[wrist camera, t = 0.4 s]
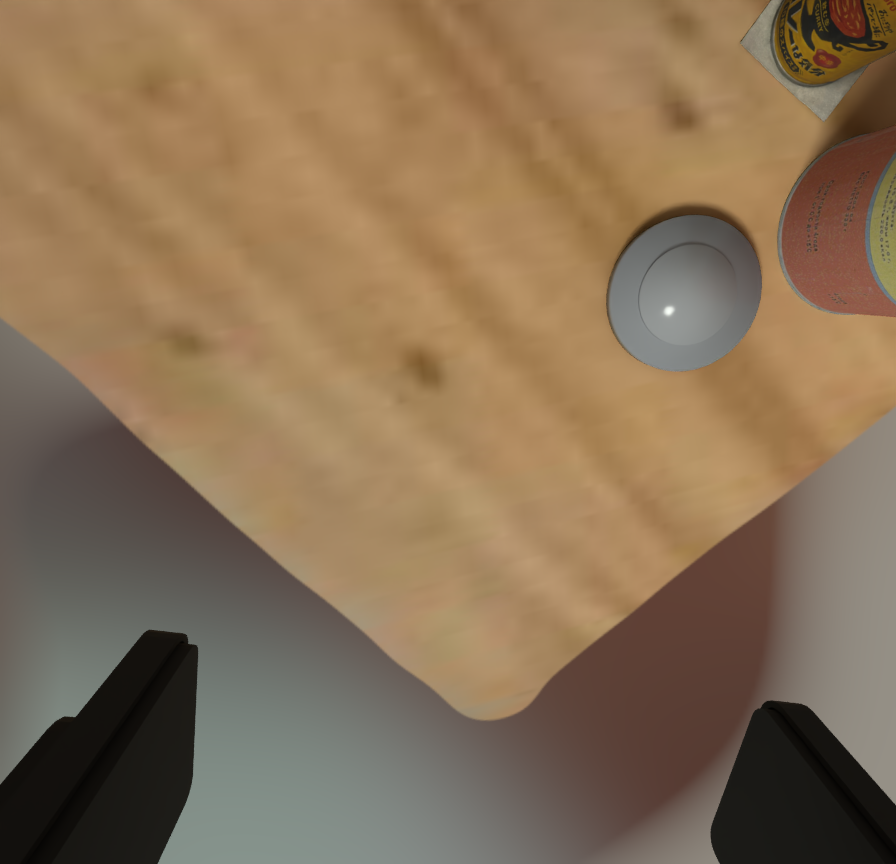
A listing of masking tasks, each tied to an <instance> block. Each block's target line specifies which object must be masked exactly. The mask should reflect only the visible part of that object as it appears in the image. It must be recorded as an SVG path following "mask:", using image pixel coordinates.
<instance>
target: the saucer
mask: <svg viewBox="0 0 896 864" xmlns="http://www.w3.org/2000/svg"><path fill="white" fill-rule="evenodd" d="M761 290H762V276H761V270H760V265H759V262H758V259H757V256H756V254H755V252H754V250H753V248H752V246H751V245H750V243H749V242H748V240H747V239H746V238H745V237H744V236H743V234H742V233H741V232H739V231H738V230H737V229H736V228H735V227H733V226H732V225H730V224H728V223H727V222H725V221H722V220H720V219H717V218H714V217H710V216H704V215H686V216H680V217H675V218H672V219H668V220H665V221H662V222H659V223H657V224H655V225H653V226H651V227H649V228H648V229H646V230H645V231H643V232H642V233H641V234H639V235H638V236H637V237H636V238H635V239H633V241H632V242H631V243H630V244H629V245H628V246H627V247H626V248H625V250H624V251H623V252H622V254H621V255H620V257H619V258H618V260H617V262H616V264H615V266H614V268H613V271H612V273H611V276H610V279H609V283H608V288H607V297H606V306H607V315H608V319H609V323H610V326H611V329H612V331H613V333H614V335H615V337H616V339H617V340H618V342H619V343H620V344H621V346H622V347H623V348H624V349H625V350H626V351H627V352H628V353H629V354H630V355H631V356H633V357H634V358H636V359H637V360H639V361H641V362H643V363H644V364H647V365H650V366H652V367H655V368H658V369H662V370H667V371H688V370H694V369H698V368H701V367H704V366H707V365H709V364H711V363H713V362H715V361H717V360H718V359H720V358H722V357H723V356H725V355H726V354H727V353H728V352H730V351H731V350H732V349H733V348H734V347H735V346H736V345H737V344H738V343H739V342H740V341H741V339H742V338H743V337H744V336H745V334H746V333H747V331H748V329H749V328H750V326H751V324H752V322H753V320H754V318H755V316H756V313H757V310H758V307H759V303H760V298H761Z"/></svg>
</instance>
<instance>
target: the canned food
mask: <svg viewBox="0 0 896 864" xmlns="http://www.w3.org/2000/svg"><path fill="white" fill-rule="evenodd" d="M778 254H779V260H780V264H781V268H782V270H783V273H784V275H785V277H786V280H787V281H788V283H789V285H790V286H791V288H792V289H793V290H794V291H795V293H796V294H797V295H798V296H799V297H800V298H801V299H803V300H804V301H805V302H807V303H808V304H810V305H811V306H813V307H815V308H817V309H819V310H822V311H825V312H829V313H834V314H843V315H853V314H862V315H876V316H889V317H896V125H893V126H890V127H887V128H884V129H882V130H879V131H876V132H873V133H868V134H863V135H859V136H856V137H853V138H850V139H847V140H845V141H843V142H841V143H839V144H837V145H835V146H833V147H832V148H830V149H829V150H827V151H826V152H824V153H823V154H822V155H820V156H819V157H818V158H817V159H816V160H815V161H814V162H813V163H812V164H810V166H809V167H808V168H807V169H806V170H805V171H804V172H803V174H802V175H801V176H800V178H799V179H798V180H797V182H796V183H795V185H794V187H793V188H792V190H791V192H790V194H789V196H788V198H787V200H786V203H785V205H784V208H783V211H782V214H781V218H780V222H779V229H778Z"/></svg>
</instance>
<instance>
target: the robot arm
mask: <svg viewBox="0 0 896 864" xmlns="http://www.w3.org/2000/svg"><path fill="white" fill-rule="evenodd" d="M197 664H198V647H197V646H196V645H192V644H188V638H187V635H186V634H183V633H173V632H165V631H156V630H148V631H146V632H145V633H144V634H143V635H142V636H141V637H140V638H139V640H138V641H137V642H136V643H135V644H134V646H133V647H132V648H131V649H130V651H129V652H128V653H127V654H126V656H125V657H124V658H123V659H122V660H121V662H120V663H119V664H118V665H117V667H116V668H115V669H114V670H113V672H112V673H111V674H110V675H109V677H108V678H107V679H106V680H105V682H104V683H103V684H102V685H101V686H100V688H99V689H98V690H97V691H96V693H95V694H94V695H93V696H92V698H91V699H90V700H89V701H88V703H87V704H86V705H85V706H84V708H83V709H82V710H81V711H80V712H79V714H78V715H77V716H76V717H62V718H61V719H59V720H57V721H56V722H54V724H52V725H51V726H50V727H49V728H48V729H47V730H46V732H45V733H44V734H43V735H42V736H41V737H40V739H39V740H38V741H37V742H36V743H35V744H34V746H33V747H32V748H31V749H30V750H29V752H28V753H27V754H26V755H25V756H24V758H23V759H22V760H21V761H20V762H19V763H18V765H17V766H16V767H15V768H14V769H13V770H12V772H11V773H10V774H9V775H8V776H7V777H6V779H5V780H4V781H3V782H2V783H1V784H0V864H158V862H159V859H160V857H161V855H162V853H163V851H164V849H165V847H166V844H167V842H168V840H169V838H170V836H171V833H172V831H173V829H174V827H175V825H176V823H177V821H178V819H179V816H180V814H181V812H182V810H183V808H184V806H185V803H186V801H187V798H188V795H189V792H190V788H191V784H192V777H193V758H194V736H195V713H196V689H197V667H198V665H197ZM711 843H712V847H713V850H714V852H715V855H716V857H717V859H718V861H719V863H720V864H896V805H895V804H894V803H893V802H892V801H891V799H890V798H889V797H888V796H887V795H886V794H885V793H884V791H882V789H881V788H880V787H879V786H878V785H877V784H876V782H875V781H874V780H873V779H872V778H871V777H870V776H869V775H868V773H867V772H866V771H865V770H864V769H863V768H862V767H861V765H860V764H859V763H858V762H857V761H856V760H855V759H854V758H853V756H852V755H851V754H850V753H849V752H848V751H847V750H846V748H845V747H844V746H843V745H842V744H841V743H840V742H839V741H838V739H837V738H836V737H835V736H834V735H833V734H832V733H831V732H830V730H829V729H828V728H827V727H826V726H825V725H824V724H823V722H822V721H821V720H820V719H819V718H818V717H817V716H816V715H815V713H814V712H813V711H812V710H811V709H810V708H808V707H807V706H805V705H802V704H798V703H789V702H781V701H767V702H765V703H764V704H763V705H762V707H761V708H760V709H757V710H755V711H754V713H753V715H752V717H751V720H750V723H749V726H748V728H747V731H746V734H745V737H744V739H743V742H742V745H741V747H740V750H739V753H738V755H737V758H736V761H735V763H734V766H733V769H732V772H731V774H730V777H729V780H728V782H727V785H726V788H725V791H724V793H723V796H722V799H721V801H720V804H719V807H718V810H717V812H716V815H715V817H714V820H713V823H712V826H711Z"/></svg>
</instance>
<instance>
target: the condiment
mask: <svg viewBox="0 0 896 864" xmlns="http://www.w3.org/2000/svg"><path fill="white" fill-rule="evenodd" d="M741 44H742V46H743V47H744V48H745V49H747V50H748V51H749V52H750V53H751V54H752V55H753V56H754V58H755V59H757V60H758V61H759V62H760V63H761V64H762V66H764V67H765V68H766V69H767V70H768V71H769V72H770V73H771V74H772V75H773V76H774V77H775V78H776V79H777V80H778V81H779V82H780V83H781V84H782V85H784V86H785V87H786V88H787V89H788V90H789V91H790V92H791V93H792V94H793V95H794V96H796V97H797V98H798V99H799V100H800V101H801V102H803V104H805V105H807V106H808V107H809V108H810V109H811V110H812V111H813V112H814V113H815V114H816V115H817V116H818V117H819V118H820V119H821V120H822V121H823V122H824V121H825V120H826V119H827V117H828V116H829V115H830V114H831V112H832V111H833V110H834V108H835V107H836V106H837V105H838V103H839V102H840V101H841V99H842V98H843V97H844V95H845V94H846V93H847V92H848V91H849V90H850V88H851V87H852V85H853V84H854V83H855V81H856V80H857V79H858V78H859V77H860V75H861V74H862V73H863V72H864V70H865V69H866V68H867V67H868V65H869V64H871V63H873V62H875V61H877V60H878V59H880V58H883V57H884V56H886V55H888V54H890V53H892V52H894V51H896V0H771V2H770V3H769V4H768V6H767V7H766V8H765V10H764V11H763V12H762V14H761V15H760V16H759V18H758V19H757V21H756V22H755V23H754V25H753V26H752V27H751V29H750V30H749V31H748V33H747V34H746V36H745V37H744V38H743V40H742V41H741Z"/></svg>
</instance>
